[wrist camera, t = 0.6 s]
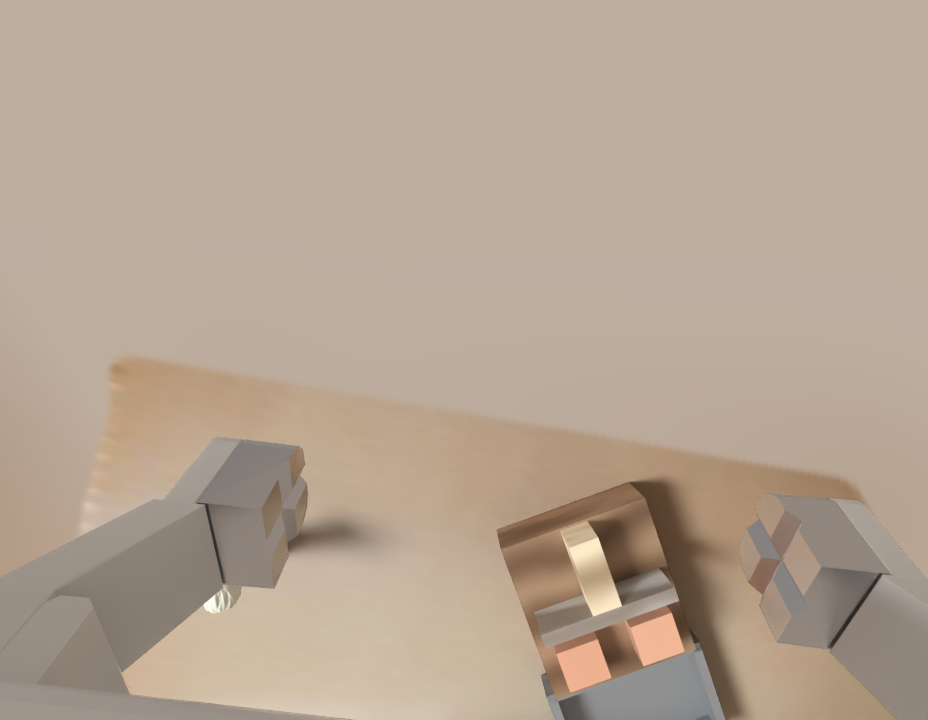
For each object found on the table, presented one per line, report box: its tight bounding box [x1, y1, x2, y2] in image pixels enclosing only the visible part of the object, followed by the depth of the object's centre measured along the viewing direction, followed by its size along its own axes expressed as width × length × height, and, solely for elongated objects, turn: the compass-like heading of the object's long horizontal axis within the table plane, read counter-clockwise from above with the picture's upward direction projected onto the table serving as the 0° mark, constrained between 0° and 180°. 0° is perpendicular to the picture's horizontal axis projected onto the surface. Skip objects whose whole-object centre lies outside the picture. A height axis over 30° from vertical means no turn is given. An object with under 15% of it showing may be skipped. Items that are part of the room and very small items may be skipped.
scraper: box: [534, 521, 679, 649], centre depth 54 cm, size 9×14×4 cm, turn 110°
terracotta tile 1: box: [624, 606, 685, 666], centre depth 55 cm, size 4×4×2 cm
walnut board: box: [497, 482, 696, 700], centre depth 59 cm, size 18×16×5 cm
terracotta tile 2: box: [554, 632, 611, 693], centre depth 55 cm, size 4×4×2 cm
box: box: [541, 629, 725, 720], centre depth 61 cm, size 12×18×4 cm
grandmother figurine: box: [204, 585, 241, 613], centre depth 53 cm, size 8×4×13 cm, turn 123°
